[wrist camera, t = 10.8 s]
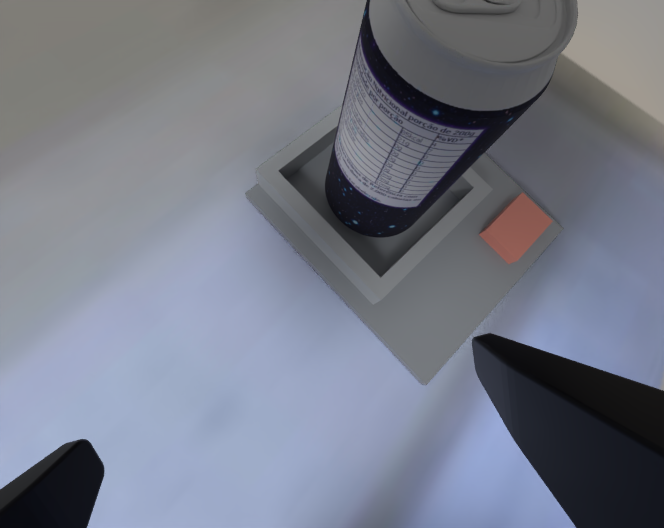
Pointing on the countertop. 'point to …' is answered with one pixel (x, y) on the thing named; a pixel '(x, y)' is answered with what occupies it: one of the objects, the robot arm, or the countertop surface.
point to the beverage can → (434, 99)
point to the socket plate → (408, 249)
